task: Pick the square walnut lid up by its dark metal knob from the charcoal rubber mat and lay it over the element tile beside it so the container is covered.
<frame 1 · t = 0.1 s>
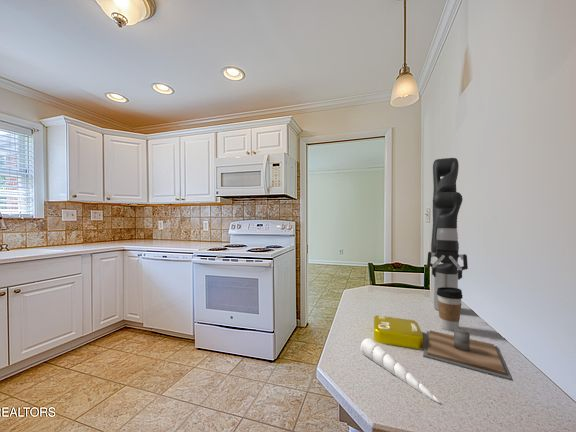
hand: (446, 278, 105), 17 cm above the countertop, tool pointing down, fingers open, 8 cm apart
element tile: (396, 337, 88), on the countertop
unicorn horn: (394, 373, 67), on the countertop
walnut lid: (461, 341, 78), on the rubber mat
coffee cup: (449, 328, 96), on the countertop
rubber mat: (461, 351, 78), on the countertop
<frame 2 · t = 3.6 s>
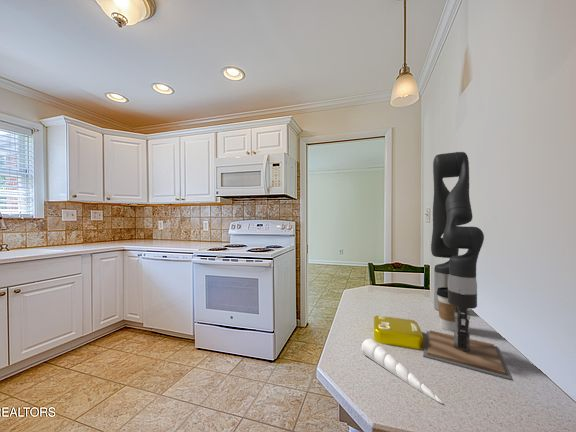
hand: (461, 344, 78), 2 cm above the countertop, tool pointing down, fingers closed on walnut lid, 4 cm apart
walnut lid: (461, 341, 78), on the rubber mat, touching gripper
everything else where it was.
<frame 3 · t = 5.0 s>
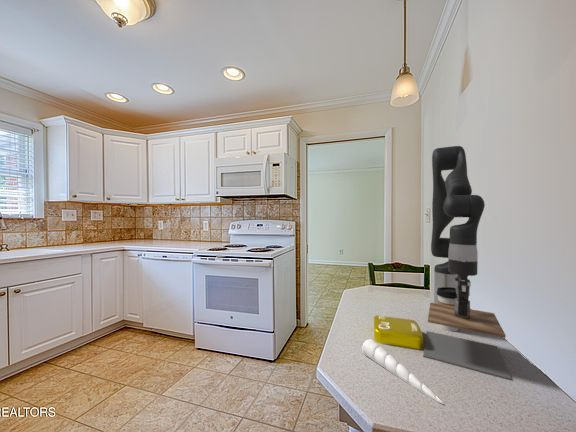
hand: (462, 312, 79), 12 cm above the countertop, tool pointing down, fingers closed on walnut lid, 4 cm apart
walnut lid: (462, 309, 79), point 13 cm above the countertop, touching gripper
everything else where it was.
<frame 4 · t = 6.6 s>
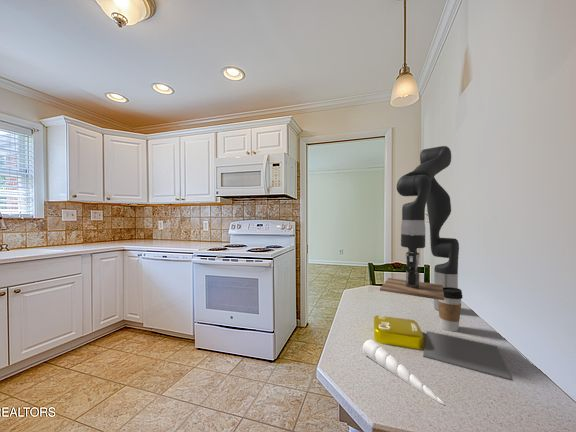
hand: (412, 283, 86), 19 cm above the countertop, tool pointing down, fingers closed on walnut lid, 4 cm apart
walnut lid: (412, 280, 86), point 20 cm above the countertop, touching gripper
everything else where it was.
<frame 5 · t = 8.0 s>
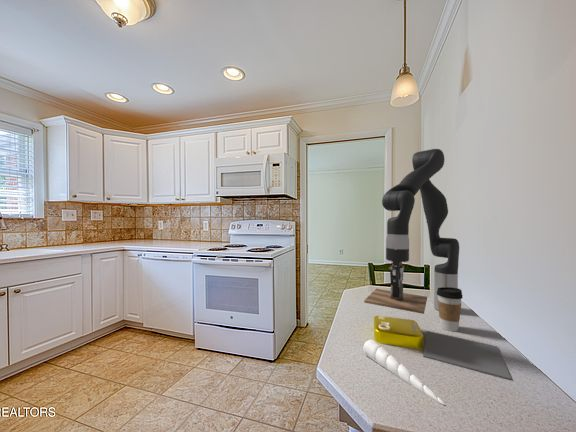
hand: (396, 295, 89), 14 cm above the countertop, tool pointing down, fingers closed on walnut lid, 4 cm apart
walnut lid: (396, 292, 89), point 15 cm above the countertop, touching gripper
everything else where it was.
when the fingers open (9 cm above the countertop, at t = 9.7 s): walnut lid drops 3 cm, resting on element tile.
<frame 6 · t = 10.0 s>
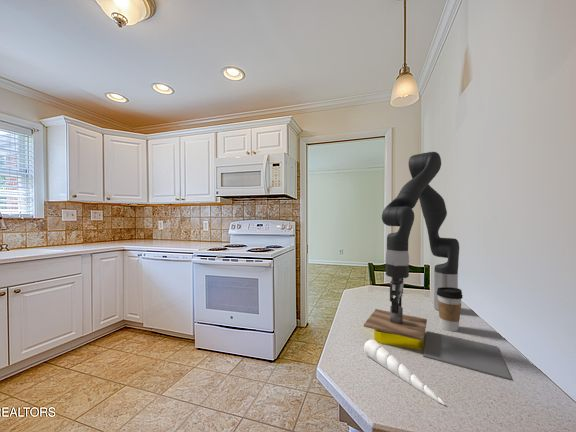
hand: (396, 310, 88), 9 cm above the countertop, tool pointing down, fingers open, 6 cm apart
element tile: (396, 338, 88), on the countertop, touching walnut lid
walnut lid: (396, 315, 89), point 7 cm above the countertop, touching element tile
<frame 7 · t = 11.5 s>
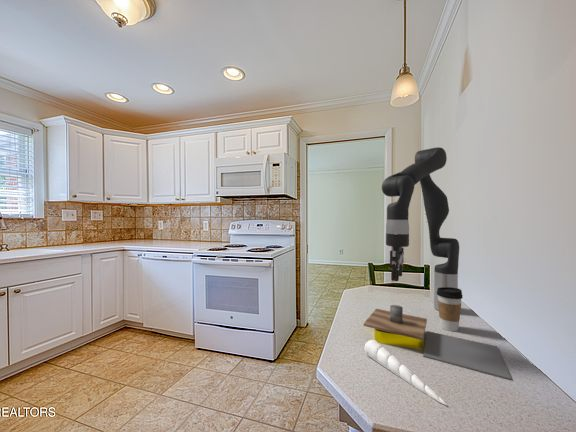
hand: (396, 278, 89), 20 cm above the countertop, tool pointing down, fingers open, 8 cm apart
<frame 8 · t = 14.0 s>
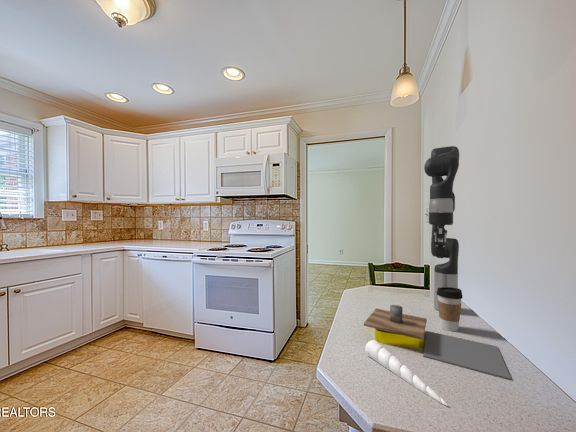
hand: (440, 256, 90), 28 cm above the countertop, tool pointing down, fingers open, 8 cm apart
at the end: walnut lid 0.5 cm off-centre on the element tile, point 7.9 cm above the element tile's base; walnut lid tilted 0°; walnut lid touching element tile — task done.
